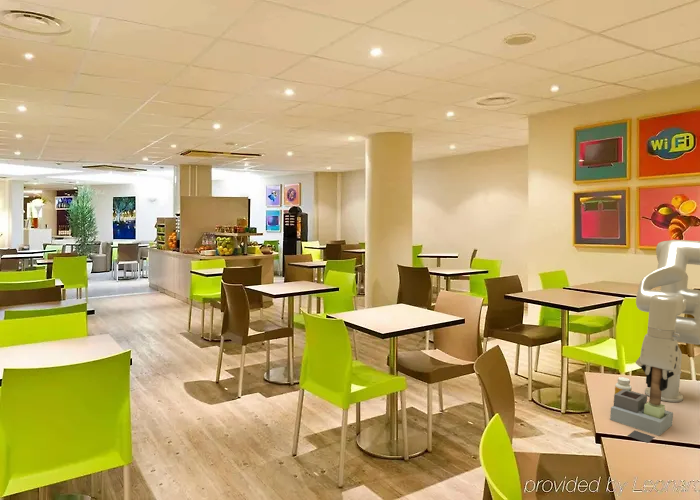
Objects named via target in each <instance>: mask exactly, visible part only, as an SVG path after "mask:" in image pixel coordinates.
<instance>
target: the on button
mask: <svg viewBox="0 0 700 500" xmlns="http://www.w3.org/2000/svg"><path fill="white" fill-rule="evenodd" d="M665 410H666V404H662V403H661V404H660V405H654V404H651V403H649V401H647V403H646V404H645V406H644V414H646V415H649V416H652V417H656V418H659V419H662V418H663V417H664V413H665Z"/></svg>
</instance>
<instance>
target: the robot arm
mask: <svg viewBox="0 0 700 500" xmlns="http://www.w3.org/2000/svg"><path fill="white" fill-rule="evenodd" d="M655 253H656V259H657V262H658V263H657V268H656V269H654V270H652V271H651V272H649V273H647V275H645V276H644V277H643V278H642V279H641V281H640V282H639V285H638V289H637V293H636V297H635V304H636V305H635V306H636V308H637V309H638V310H640V311H641V312H645V313H648V322H647V333H646V334H645V335H644V337H643V341H642V344H641V349H640V355H639V357H638V358H637V360H636V361H635V364H636V365H637V366H638V367H640V368H641V369H642V370H643V372H644V373H645V384H646V388H644V393H645V395H647V397H650V387H651V375H652V367H656V368H659V369H662V371H663V377H662V379H661V382H660V390H661V391H662V393H661V401H664V402H669V403H678V402H682V401H683V400H684V395H682V393H680V383H681V379H680V378H681V374H682V370H681V369H682V358H683V353H682V351H681V348H680V346H679V343H682V344H689V345H690V344H691V345H698V346H699V345H700V289H693V288H688V282H689V276H688V273H687V270H686V269H687V265H694V266H700V240H688V239H687V240H685V239H683V240H682V239H670V240H664V241H660V242H658V243H657V244H656V247H655ZM658 287H660V290H654V288H655V289H656V288H658ZM682 314H684V315H691V316H693V317H694V318H693V317H688V316H687V317H685V316H680V315H682Z"/></svg>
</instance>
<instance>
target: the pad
mask: <svg viewBox="0 0 700 500" xmlns="http://www.w3.org/2000/svg"><path fill="white" fill-rule="evenodd" d="M627 437H629V438H632V439H635V440H638V441H641V442H644V443H647V444H648V443H650V442H651V441H653V439H655V436H652V435H649V434H647V433H644V432H640V431H638V430H633V431H631V432H630V433H629V434H628V435H627Z"/></svg>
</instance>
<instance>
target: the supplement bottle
mask: <svg viewBox="0 0 700 500" xmlns="http://www.w3.org/2000/svg"><path fill="white" fill-rule="evenodd" d="M630 383H631V379H629V378H628V377H623V376H620V377H617V382H616V383H615V385H614V394H616V393H618V392H620V391H621V390H623V389H626V390H629V391H632V389H633V388H632V386H631V384H630Z"/></svg>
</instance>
